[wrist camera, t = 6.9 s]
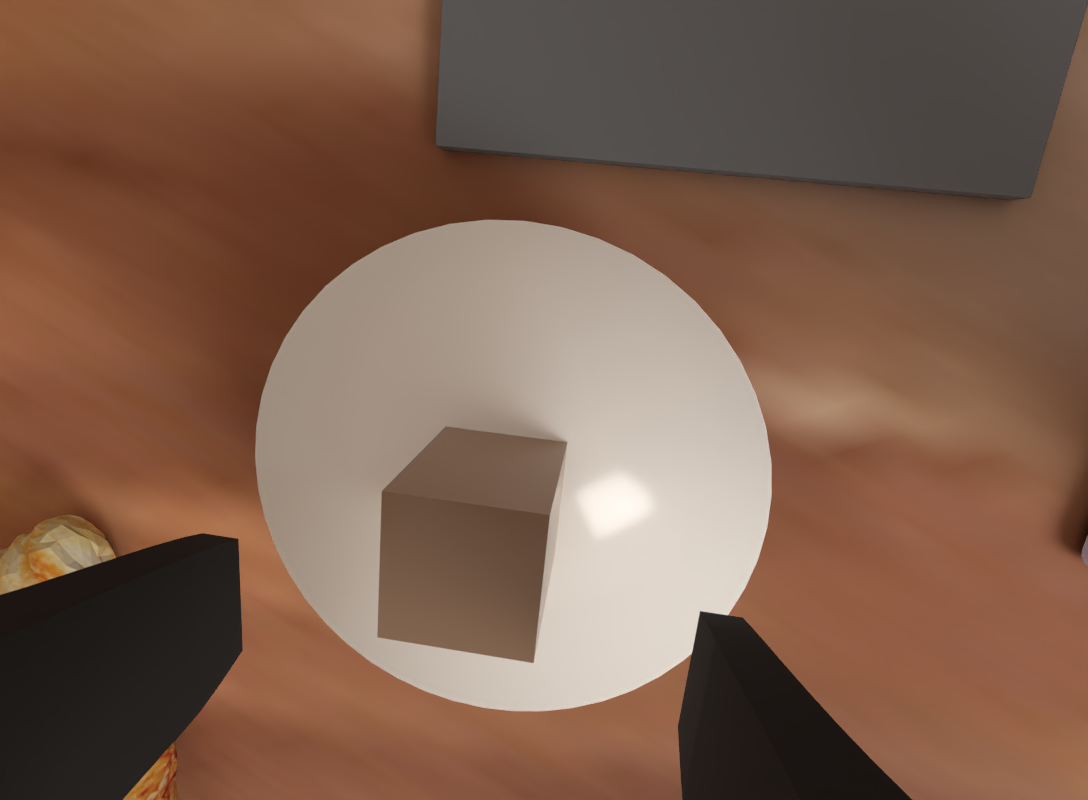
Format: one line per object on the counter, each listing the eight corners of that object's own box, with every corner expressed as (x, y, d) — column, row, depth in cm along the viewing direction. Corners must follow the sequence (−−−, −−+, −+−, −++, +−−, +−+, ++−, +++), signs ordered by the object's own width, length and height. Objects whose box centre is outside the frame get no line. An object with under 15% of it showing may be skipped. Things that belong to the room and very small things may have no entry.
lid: (811, 251, 11) (928, 246, 7) (713, 721, 14) (756, 915, 10) (270, 197, 12) (95, 166, 8) (279, 648, 15) (152, 796, 11)
